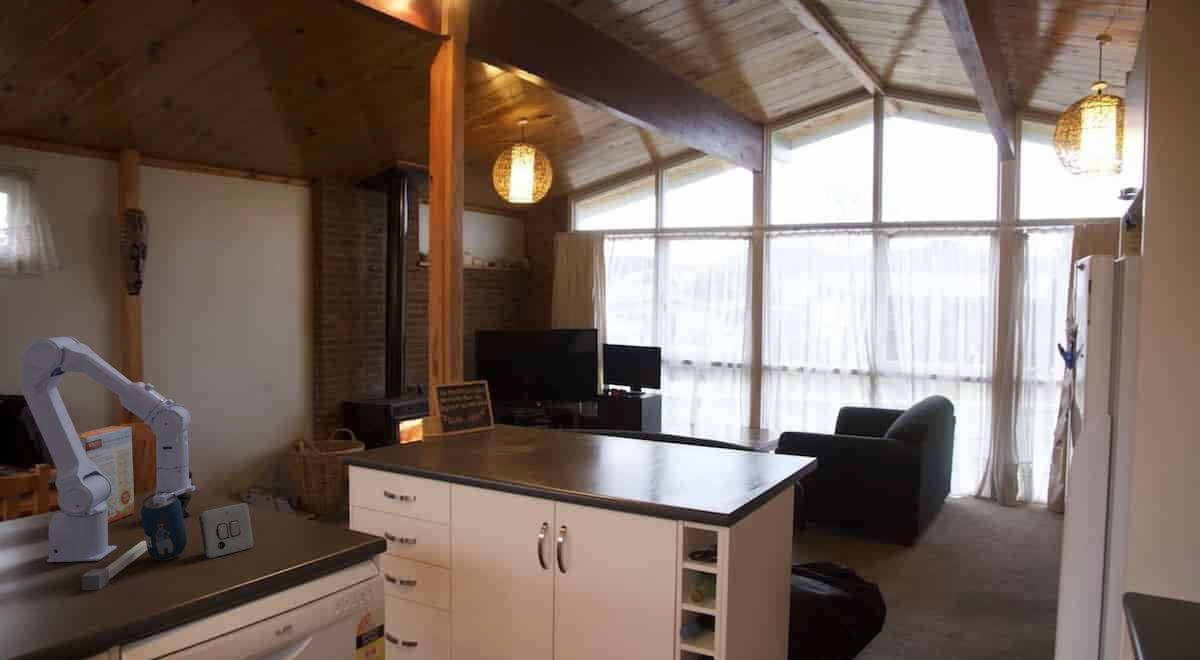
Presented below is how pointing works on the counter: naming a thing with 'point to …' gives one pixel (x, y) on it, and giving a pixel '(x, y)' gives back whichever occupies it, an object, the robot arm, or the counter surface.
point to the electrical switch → (226, 530)
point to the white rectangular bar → (111, 569)
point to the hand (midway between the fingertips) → (174, 532)
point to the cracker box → (113, 465)
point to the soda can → (164, 528)
